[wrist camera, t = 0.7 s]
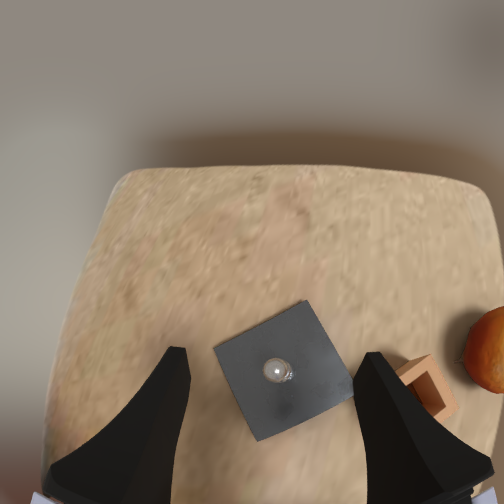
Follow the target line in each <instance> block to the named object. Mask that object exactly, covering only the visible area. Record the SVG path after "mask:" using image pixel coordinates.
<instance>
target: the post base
mask: <svg viewBox="0 0 504 504" xmlns="http://www.w3.org/2000/svg"><path fill="white" fill-rule="evenodd" d="M213 349H214V351H215V353H216V356H217V358H218V360H219V363H220V365H221V367H222V369H223V372H224V374H225V376H226V378H227V380H228V383H229V385H230V387H231V389H232V391H233V394H234V396H235V398H236V400H237V402H238V404H239V406H240V408H241V410H242V412H243V415H244V417H245V419H246V421H247V423H248V425H249V427H250V429H251V431H252V433H253V435H254V437H255V439H256V440H257V442H258V441H261V440H263V439H266V438H268V437H271V436H273V435H276V434H278V433H280V432H283V431H285V430H287V429H289V428H292V427H294V426H296V425H298V424H300V423H302V422H304V421H307V420H309V419H311V418H313V417H315V416H317V415H319V414H321V413H323V412H324V411H326V410H328V409H330V408H332V407H334V406H336V405H338V404H339V403H341V402H343V401H345V400H347V399H348V398H350V397H352V396H353V395H354V393H353V383H352V381H353V379H352V378H351V376H350V374H349V372H348V370H347V369H346V367H345V365H344V363H343V362H342V360H341V358H340V356H339V354H338V353H337V351H336V349H335V347H334V346H333V344H332V342H331V340H330V339H329V337H328V335H327V333H326V332H325V330H324V328H323V327H322V325H321V323H320V321H319V320H318V318H317V316H316V314H315V313H314V311H313V309H312V308H311V306H310V304H309V302H308V301H307V300H305V301H303V302H301V303H300V304H298V305H296V306H294V307H292V308H291V309H289V310H287V311H285V312H283V313H281V314H280V315H278V316H276V317H274V318H272V319H270V320H268V321H267V322H265V323H263V324H261V325H259V326H257V327H255V328H253V329H251V330H249V331H247V332H246V333H244V334H242V335H240V336H238V337H236V338H234V339H232V340H230V341H228V342H226V343H224V344H222V345H220V346H218V347H215V348H213Z"/></svg>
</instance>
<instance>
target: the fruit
mask: <svg viewBox="0 0 504 504" xmlns="http://www.w3.org/2000/svg"><path fill="white" fill-rule="evenodd" d="M470 329H471V330H470V331H469V334H468V339H467V343H466V346H465V349H464V352H463V354H462V356H461V358H460V359H459V360H457V361H454V363H458V362H463V363H464V366H465V369H466V371H467V372H468V373H469V375H470V376H471V378H472V379H473V380H474V381H475V382H476V383H477V384H478V385H479V386H481V387H482V388H484V389H486V390H488V391H490V392H493V393H496V394H499V393H504V306H502V307H499V308H496V309H494V310H492V311H489V312H487V313H486V314H485V315H484V316H483V317H482V318H481V319H479V320H478V321H477V322H476V323H475V324H474V325H473V326H472V327H471V328H470Z"/></svg>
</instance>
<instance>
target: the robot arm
mask: <svg viewBox="0 0 504 504" xmlns="http://www.w3.org/2000/svg"><path fill="white" fill-rule="evenodd" d="M190 382H191V375H190V370H189V365H188V359H187V354H186V349H185V348H182V347H173V346H170V347H169V348H168V349H167V350H166V352H165V354H164V355H163V357H162V358H161V360H160V362H159V363H158V365H157V366H156V368H155V369H154V370H153V372H152V373H151V375H150V376H149V377H148V379H147V380H146V381H145V383H144V384H143V385H142V387H141V388H140V389H139V391H138V392H137V393H136V394H135V395H134V397H133V398H132V399H131V400H130V401H129V403H128V404H127V405H126V406H125V407H124V408H123V409H122V411H121V412H120V413H119V414H118V415H117V416H116V417H115V418H114V419H113V420H112V421H111V422H110V423H109V424H108V425H106V426H105V427H104V428H103V429H102V430H101V431H100V432H99V433H97V434H96V435H95V436H94V437H93V438H91V439H90V440H89V441H87V442H86V443H85V444H83V445H82V446H80V447H79V448H78V449H76V450H75V451H73V452H72V453H70V454H69V455H67V456H65V457H63V458H62V459H60V460H58V461H57V462H55V463H53V464H52V465H51V466H50V469H49V470H48V473H47V476H46V479H45V482H44V486H43V489H42V490H43V492H44V493H46V494H48V495H50V496H52V497H53V498H55V499H57V500H59V501H61V502H63V503H64V504H170V499H171V485H172V474H173V465H174V457H175V451H176V446H177V441H178V437H179V433H180V429H181V426H182V422H183V418H184V414H185V410H186V406H187V402H188V397H189V390H190ZM352 383H353V393H354V401H355V406H356V410H357V415H358V419H359V423H360V428H361V432H362V436H363V441H364V446H365V452H366V463H367V504H498V503H497V499H496V495H495V491H494V487H490V488H489V489H487V490H485V491H483V492H481V493H480V494H478V495H476V496H474V497H472V498H471V496H470V495H471V494H473V492H474V490H473V487H474V486H476V485H477V484H479V483H481V482H483V481H484V480H486V479H488V478H489V477H491V476H492V475H493V474H494V473H495V472H494V469H493V466H492V462H491V459H490V457H488V456H486V455H484V454H482V453H480V452H479V451H477V450H475V449H473V448H472V447H470V446H469V445H467V444H465V443H464V442H462V441H461V440H460V439H458V438H457V437H456V436H454V435H453V434H452V433H451V432H449V431H448V430H447V429H446V428H445V427H443V426H442V425H441V424H440V423H439V422H438V421H437V420H436V419H435V418H434V417H433V416H432V415H431V414H430V413H429V412H428V411H427V410H426V409H425V408H424V407H423V406H422V405H421V403H420V402H419V401H418V400H417V399H416V398H415V397H414V395H413V394H412V393H411V392H410V390H409V389H408V388H407V387H406V385H405V384H404V383H403V382H402V380H401V379H400V378H399V376H398V375H397V374H396V372H395V371H394V370H393V369H392V367H391V366H390V365H389V363H388V362H387V361H386V359H385V358H384V357H383V355H382V354H381V353H380V352H367V353H366V355H365V357H364V359H363V361H362V363H361V365H360V367H359V369H358V371H357V373H356V375H355V377H354V379H353V381H352ZM31 504H60V503H58V502H55V501H53V500H51V499H49V498H47V497H45V496H43V495H41V494H39V493H38V492H34V494H33V497H32V500H31Z"/></svg>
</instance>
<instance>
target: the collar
mask: <svg viewBox="0 0 504 504" xmlns="http://www.w3.org/2000/svg"><path fill="white" fill-rule="evenodd" d="M395 372H396V374H397V375H398V376H399V378H400V379H401V380H402V382H403V383H404V384H405V385H408V384H409V383H412V385H413V387H414V388H415V390H416V392H417V394H418V396H419V398H420V400H421V401H422V404H421V405H422V406H423V407H424V408H425V409H426V410H427V411H428V412H429V413H430V414H431V415H432V416H433V417H434V418H435V419H436V420H437V421H438V422H439V423H442V422H443V421H444V420H445V419H447V418H448V417H449V416H450V415H452V414H453V413H454V412H455V411H456V410H458V409H459V406H458V404H457V402H456V400H455V398H454V396H453V394H452V392H451V390H450V388H449V386H448V385H447V383H446V381H445V379H444V377H443V375H442V373H441V371H440V370H439V368H438V366H437V364H436V362H435V360H434V359H433V357H432V355H431V354H429V355H426V356H423V357H420V358H417V359H414V360H410V361H409V362H407V363H406V364H404V365H403V366H402V367H400V368H399V369H397V370H396V371H395Z"/></svg>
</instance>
